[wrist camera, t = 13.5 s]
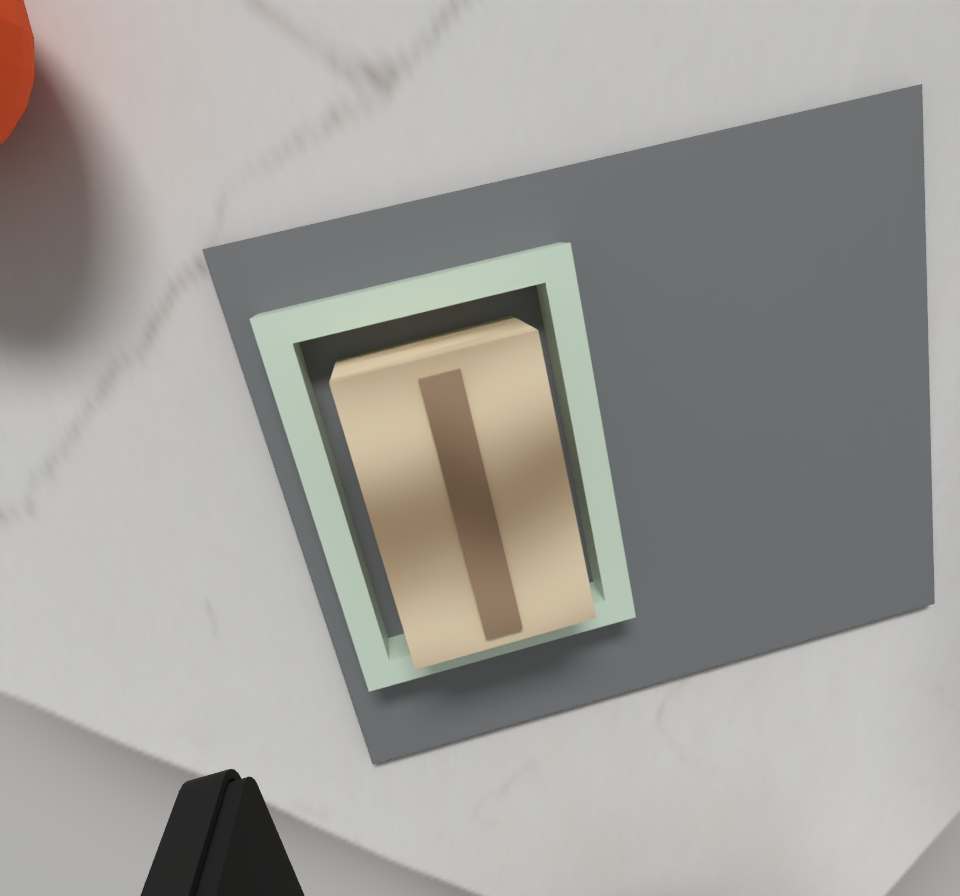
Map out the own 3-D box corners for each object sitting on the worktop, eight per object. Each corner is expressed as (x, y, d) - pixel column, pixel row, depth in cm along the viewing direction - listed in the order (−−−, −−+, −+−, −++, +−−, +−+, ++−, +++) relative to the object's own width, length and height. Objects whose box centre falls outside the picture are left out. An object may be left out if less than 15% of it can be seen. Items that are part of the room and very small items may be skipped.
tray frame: (558, 242, 23) (570, 242, 22) (622, 597, 27) (635, 617, 26) (257, 313, 23) (249, 318, 21) (369, 667, 27) (368, 691, 25)
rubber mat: (913, 86, 24) (921, 84, 23) (927, 598, 30) (934, 603, 30) (205, 249, 22) (202, 249, 22) (372, 757, 28) (373, 764, 28)
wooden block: (564, 564, 27) (598, 621, 23) (409, 607, 26) (415, 673, 22) (511, 315, 24) (539, 331, 20) (336, 359, 23) (328, 384, 19)
